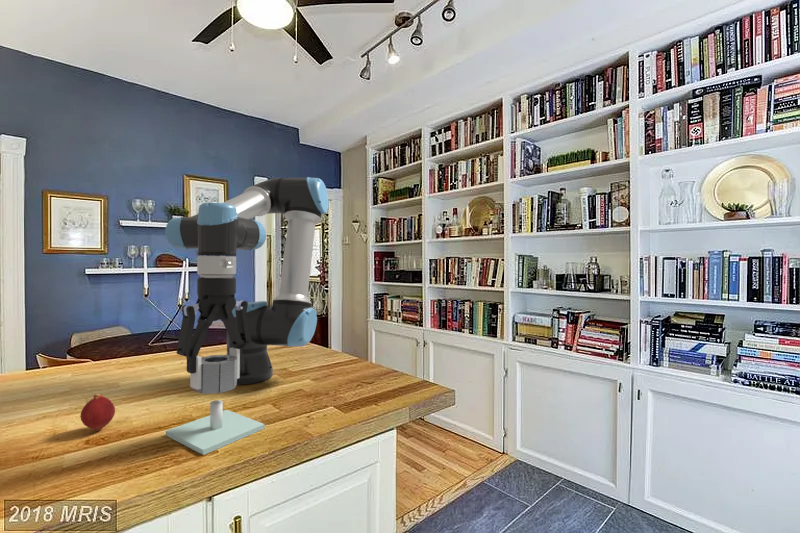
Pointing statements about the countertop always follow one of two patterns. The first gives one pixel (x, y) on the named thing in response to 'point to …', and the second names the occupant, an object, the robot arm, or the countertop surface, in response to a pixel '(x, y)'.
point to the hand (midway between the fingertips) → (215, 382)
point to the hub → (218, 374)
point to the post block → (214, 429)
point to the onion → (97, 412)
